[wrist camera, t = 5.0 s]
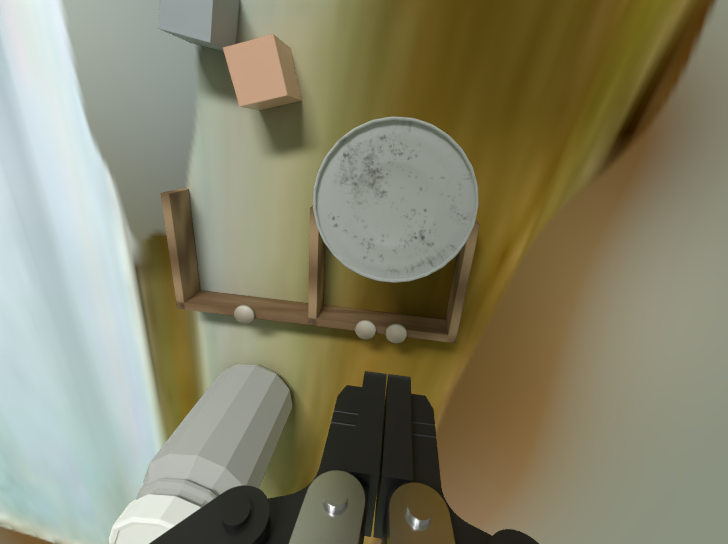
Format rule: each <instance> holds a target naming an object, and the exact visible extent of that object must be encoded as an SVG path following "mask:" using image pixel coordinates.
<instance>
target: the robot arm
mask: <svg viewBox="0 0 728 544" xmlns="http://www.w3.org/2000/svg"><path fill="white" fill-rule="evenodd" d="M386 376H387V374H383V373H375V372H368V371H365V374H364V380H363V386H362V387H356V386H349V385H347V386H346V387H345V388H344V389H343V390H342V392H341V393H340V394H339V395H338V397H337V401H336V405H335V409H334V413H333V417H332V421H331V425H330V429H329V433H328V437H327V441H326V444H325V448H324V452H323V456H322V460H321V464H320V468H319V471H318V473H317V475H316V477H315V478H314V480H313V481H312V482H311V483H310V484H309V485H308V486H307V487H305V488H304V489H302V490H301V491H299V492H296V493H294V494H290V495H286V496H280V497H275V498H270V499H267V497H266V495H265V494H264V493H263V492H262V491H261V490H260V489H258V488H256V487H254V486H249V485H242V486H237V487H233V488H231V489H228V490H227V491H225V492H223V493H222V494H220V495H219V496H217V497H216V498H214V499H213V500H211V501H210V502H209V503H207V504H206V505H204V506H203V507H201V508H200V509H198V510H197V511H196V512H194V513H193V514H191V515H190V516H188V517H187V518H185V519H184V520H182V521H181V522H180V523H178V524H177V525H175V526H174V527H172V528H171V529H169V530H168V531H167V532H165V533H164V534H162V535H161V536H159V537H158V538H156V539H155V540H153V541H152V542H151V543H149V544H363V541H364V536H369V537H371V532H372V525H373V517H374V510H375V502H376V511H375V523H374V536H373V537H376V538H382V542H381V544H539V543H538V542H536V541H535V540H534V539H533V538H531V537H530V536H528V535H526V534H524V533H522V532H520V531H516V530H511V529H506V530H501V531H498V532H497V533H495V534H494V535H493V536H491V535H490V534H487V533H486V532H484V531H482V530H480V529H478V528H476V527H474V526H472V525H470V524H468V523H467V522H465V521H464V520H462V519H461V518H460V517H458V516H457V515H456V514H455V513H454V512H453V510H452V509H451V508H450V507H449V505H448V503H447V502H446V500H445V498H444V495H443V492H442V488H441V480H440V470H439V460H438V451H437V441H436V431H435V421H434V411H433V408H432V406H431V404H430V403H429V401H428V399H427V398H426V396H423V395H416V394H411V378H410V377H406V376H398V375H391V374H388V380H387V388H386ZM385 389H386V396H385ZM384 403H385V404H384ZM376 495H377V498H376Z"/></svg>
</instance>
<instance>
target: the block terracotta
mask: <svg viewBox="0 0 728 544" xmlns="http://www.w3.org/2000/svg"><path fill="white" fill-rule="evenodd" d="M223 50H224V54H225V57H226V61H227V64H228V68H229V71H230V75H231V79H232V82H233V86H234V89H235V93H236V96H237V100H238V103H239V106H240V107H245V108H250V109H255V110H263V109H267V108H272V107H276V106H281V105H285V104H289V103H294V102H298V101H302V99H301V94H300V90H299V85H298V81H297V76H296V72H295V67H294V63H293V58H292V54H291V49H290V47H289V46H287V45H286V44H285V43H284V42H282V41H281V40H280V39H279V38H277V37H276V36H275V35H274V34H272V35H268V36H264V37H261V38H257V39H253V40H249V41H246V42H242V43H238V44H234V45H231V46H227V47H223Z"/></svg>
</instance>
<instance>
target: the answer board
mask: <svg viewBox="0 0 728 544" xmlns="http://www.w3.org/2000/svg"><path fill="white" fill-rule="evenodd" d="M161 199H162V205H163V213H164V220H165V226H166V233H167V240H168V247H169V254H170V261H171V267H172V274H173V281H174V288H175V295H176V301H177V308H178V309H186V310H194V311H202V312H210V313H218V314H226V315H234V316H235V318H236V320H237V321H238V322H240V323H242V324H249V323H251V322H252V321H253V320H254V318H258V319H266V320H274V321H282V322H290V323H298V324H306V325H314V326H322V327H330V328H338V329H346V330H354V331H355V332H356V334H357V336H358V337H360V338H362V339H370V338H372V337H373V336H374V335H375V333H378V334H386V337H387V339H388V340H389V341H390V342H392V343H400V342H403V341H404V340H405V338H406V337H410V338H418V339H426V340H434V341H442V342H450V343H455V342H456V338H457V333H458V328H459V323H460V318H461V313H462V309H463V304H464V299H465V294H466V289H467V284H468V280H469V275H470V270H471V265H472V260H473V255H474V251H475V246H476V241H477V236H478V231H479V226H480V224H479V223H478V222H477V221H476V220H475V224H474V227H473V229H472V231H471V233H470V236H469V238H468V240H467V242H466V243H465V245H464V246H463V247H462V249H461V250H460V251H459V253H458V254H457V258H456V264H455V269H454V274H453V280H452V285H451V290H450V296H449V301H448V306H447V312H446V317H445V320H444V319H435V318H427V317H419V316H410V315H402V314H393V313H385V312H377V311H368V310H360V309H352V308H343V307H335V306H327V305H323V288H324V258H325V243H324V241H323V239H322V237H321V235H320V232H319V230H318V228H317V225H316V221H315V216H314V211H313V206H312V207H310V245H309V303H302V302H293V301H285V300H277V299H268V298H260V297H251V296H243V295H235V294H226V293H218V292H210V291H201V290H200V284H199V275H198V267H197V258H196V249H195V241H194V232H193V224H192V215H191V206H190V198H189V189H176V190H172V191H168V192H163V193H161Z"/></svg>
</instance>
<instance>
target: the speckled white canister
mask: <svg viewBox="0 0 728 544" xmlns="http://www.w3.org/2000/svg"><path fill="white" fill-rule="evenodd" d="M477 210H478V185H477V181H476V178H475V174H474V170H473V167H472V165H471V163H470V162H469V160H468V158H467V156H466V154H465V153H464V151H463V149H462V148H461V147H460V146H459V145H458V144H457V143H456V142H455V141H454V140H453V139H452V138H451V137H450V136H449V135H448V134H447V133H445V132H443V131H442V130H440V129H439V128H437V127H436V126H434V125H432V124H430V123H427V122H424V121H421V120H418V119H415V118H407V117H387V118H381V119H375V120H371V121H369V122H367V123H365V124H362V125H360V126H358V127H355V128H354V129H352V130H351V131H350V132H348V133H347V134H346V135H344V136H343V137H342V138H341V139H339V140H338V141H337V142H336V144H335V145H334V146H333V147H332V149H331V150H330V151H329V152H328V153H327V155H326V156H325V158H324V160H323V162H322V164H321V166H320V168H319V170H318V173H317V177H316V181H315V185H314V189H313V211H314V216H315V221H316V225H317V228H318V230H319V232H320V235H321V237H322V239H323V241H324V243H325V244H326V246H327V247H328V249H329V250H330V251H331V253H332V254H333V255H334V256H335V257H336V258H337V259H338V260H339V261H340V262H341V263H342V264H344V265H345V266H346V267H347V268H349V269H351V270H352V271H354V272H356V273H357V274H359V275H361V276H364V277H367V278H370V279H373V280H376V281H383V282H392V283H396V282H406V281H413V280H416V279H419V278H422V277H426V276H428V275H430V274H432V273H434V272H435V271H437V270H439V269H441V268H443V267H444V266H445V265H446V264H447V263H448V262H450V261H451V260H452V259H453V258H454V257H455V256H456V255H457V254H458V253H459V251H460V250H461V249H462V247H463V246H464V245H465V243H466V242H467V240H468V238H469V236H470V233H471V231H472V229H473V227H474V224H475V220H476V215H477Z"/></svg>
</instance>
